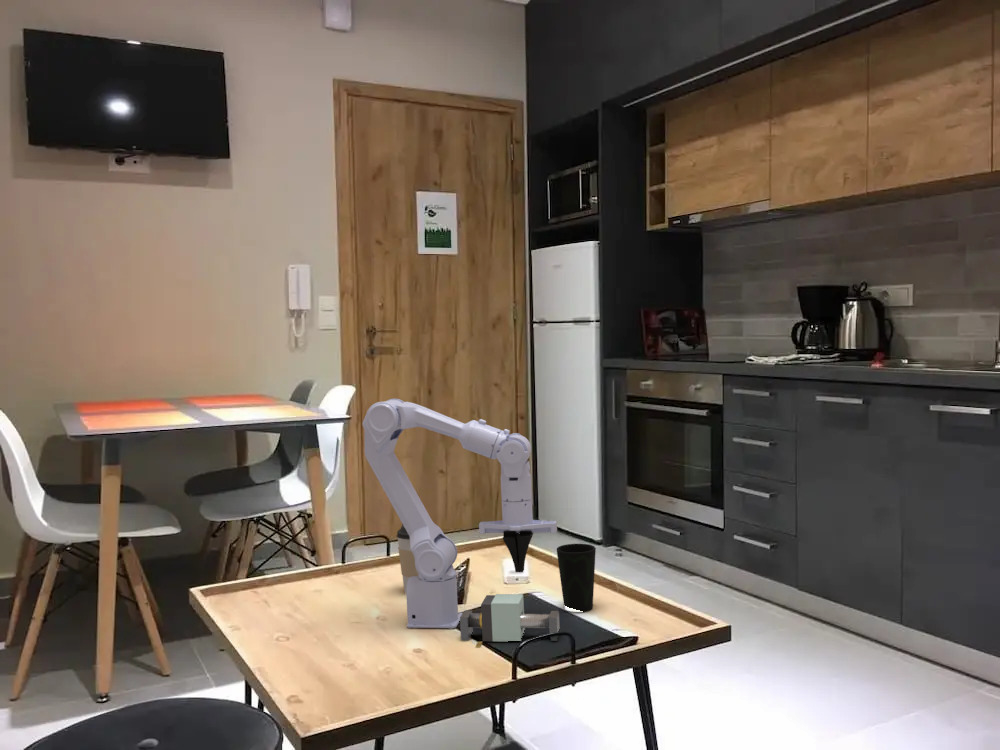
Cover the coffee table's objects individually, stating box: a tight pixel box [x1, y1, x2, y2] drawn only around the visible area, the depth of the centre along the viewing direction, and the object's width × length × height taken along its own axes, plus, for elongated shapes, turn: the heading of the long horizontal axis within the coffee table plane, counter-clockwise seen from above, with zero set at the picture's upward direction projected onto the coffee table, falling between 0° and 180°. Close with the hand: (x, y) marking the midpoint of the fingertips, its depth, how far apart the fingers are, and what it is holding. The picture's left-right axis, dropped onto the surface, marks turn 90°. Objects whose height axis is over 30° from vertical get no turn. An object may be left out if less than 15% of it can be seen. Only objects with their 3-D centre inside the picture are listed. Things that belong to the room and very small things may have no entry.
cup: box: [556, 543, 597, 613], centre depth 170 cm, size 8×8×12 cm
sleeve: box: [491, 593, 526, 642], centre depth 156 cm, size 5×6×7 cm
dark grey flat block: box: [480, 594, 496, 642], centre depth 156 cm, size 2×6×7 cm, turn 171°
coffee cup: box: [396, 524, 419, 594], centre depth 187 cm, size 9×9×15 cm
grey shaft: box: [459, 609, 561, 648], centre depth 154 cm, size 17×7×4 cm, turn 81°
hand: (519, 570), depth 163 cm, fingers closed
